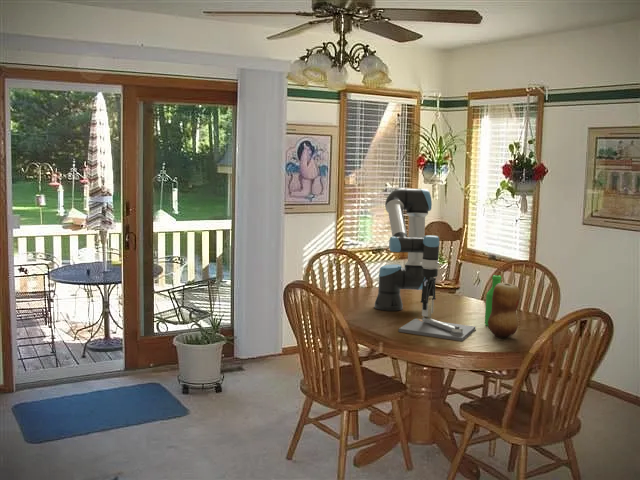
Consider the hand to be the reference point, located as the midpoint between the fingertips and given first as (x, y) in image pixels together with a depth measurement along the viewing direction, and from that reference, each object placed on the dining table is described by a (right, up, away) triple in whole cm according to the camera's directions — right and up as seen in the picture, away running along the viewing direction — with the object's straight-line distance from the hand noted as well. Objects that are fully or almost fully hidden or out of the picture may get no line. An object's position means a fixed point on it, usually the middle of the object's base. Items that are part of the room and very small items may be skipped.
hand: (427, 314), depth 330 cm
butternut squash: (+32, -9, -15) cm, 36 cm away
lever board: (+4, -7, -8) cm, 11 cm away
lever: (+5, -5, -9) cm, 12 cm away
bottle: (+33, -6, +6) cm, 35 cm away
